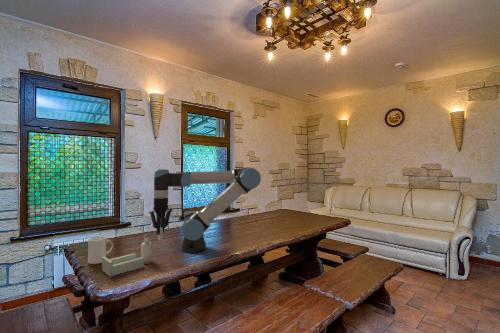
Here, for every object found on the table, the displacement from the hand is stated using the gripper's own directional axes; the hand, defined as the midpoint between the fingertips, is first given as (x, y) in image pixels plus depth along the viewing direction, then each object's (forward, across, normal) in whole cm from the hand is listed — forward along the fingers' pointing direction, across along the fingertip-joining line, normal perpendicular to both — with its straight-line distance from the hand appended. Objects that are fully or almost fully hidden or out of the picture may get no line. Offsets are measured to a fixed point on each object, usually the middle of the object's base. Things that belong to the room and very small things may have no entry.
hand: (160, 240), depth 145 cm
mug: (+10, +24, -19) cm, 32 cm away
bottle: (+10, +8, 0) cm, 13 cm away
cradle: (+10, +20, 0) cm, 22 cm away
